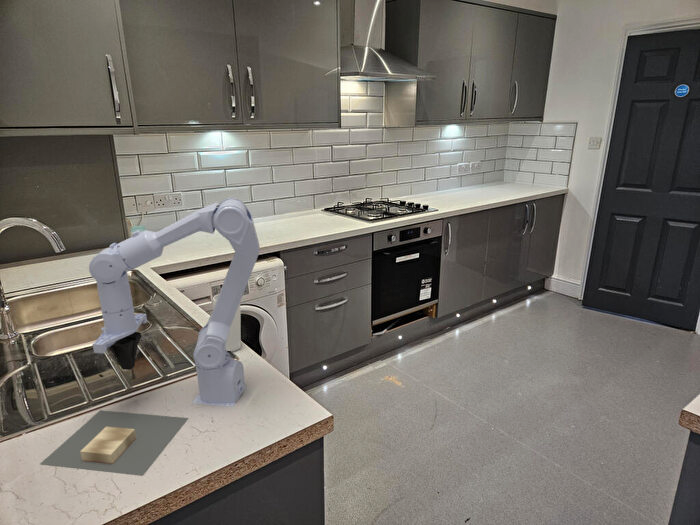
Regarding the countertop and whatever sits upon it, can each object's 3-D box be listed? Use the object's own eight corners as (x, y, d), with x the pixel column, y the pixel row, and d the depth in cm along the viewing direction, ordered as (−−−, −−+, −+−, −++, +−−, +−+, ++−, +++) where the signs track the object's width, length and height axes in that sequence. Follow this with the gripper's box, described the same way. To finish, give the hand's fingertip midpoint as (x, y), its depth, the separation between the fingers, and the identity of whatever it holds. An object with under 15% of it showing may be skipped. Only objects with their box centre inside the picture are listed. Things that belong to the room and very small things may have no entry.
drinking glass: (246, 342, 126) (242, 291, 122) (240, 354, 120) (235, 301, 115) (222, 342, 126) (217, 291, 122) (214, 354, 120) (208, 301, 115)
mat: (189, 420, 93) (188, 418, 93) (143, 478, 78) (142, 475, 78) (100, 412, 96) (100, 410, 96) (40, 466, 81) (39, 464, 81)
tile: (134, 429, 87) (110, 454, 80) (136, 438, 87) (112, 463, 81) (106, 426, 87) (80, 451, 81) (108, 435, 88) (82, 460, 81)
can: (152, 249, 223) (149, 225, 219) (142, 253, 216) (138, 228, 213) (140, 248, 225) (137, 224, 221) (130, 252, 218) (126, 227, 215)
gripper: (122, 294, 99) (131, 350, 103) (73, 321, 85) (86, 385, 89) (152, 295, 98) (160, 352, 102) (107, 323, 84) (119, 388, 88)
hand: (128, 367), depth 95 cm, fingers closed
